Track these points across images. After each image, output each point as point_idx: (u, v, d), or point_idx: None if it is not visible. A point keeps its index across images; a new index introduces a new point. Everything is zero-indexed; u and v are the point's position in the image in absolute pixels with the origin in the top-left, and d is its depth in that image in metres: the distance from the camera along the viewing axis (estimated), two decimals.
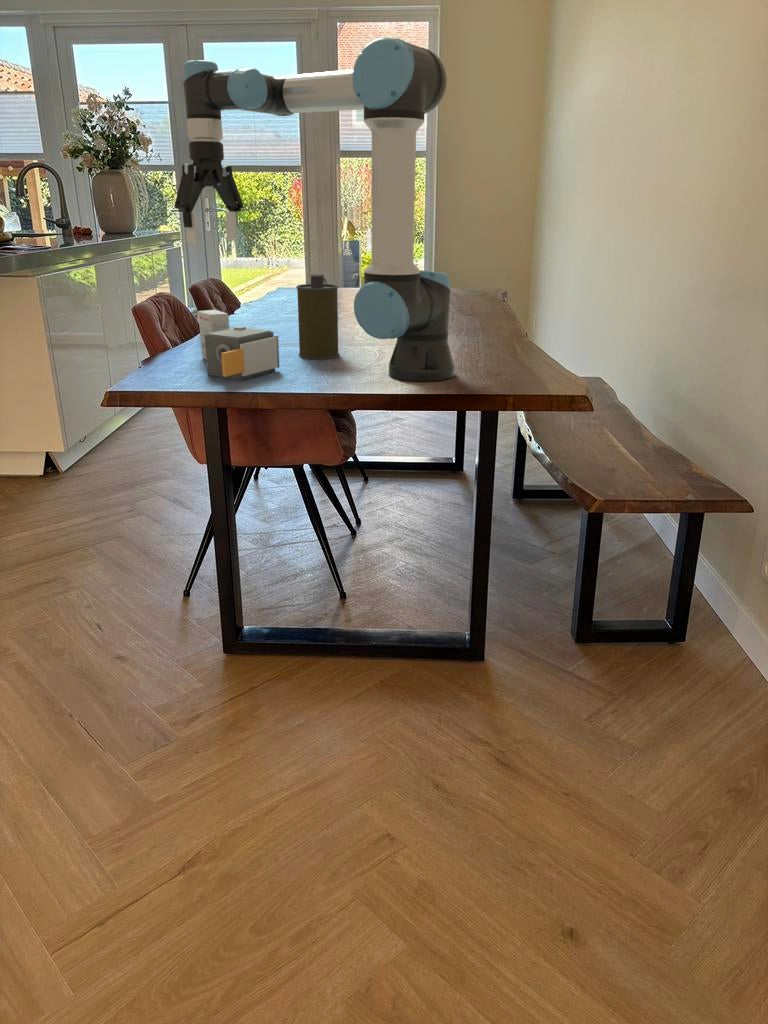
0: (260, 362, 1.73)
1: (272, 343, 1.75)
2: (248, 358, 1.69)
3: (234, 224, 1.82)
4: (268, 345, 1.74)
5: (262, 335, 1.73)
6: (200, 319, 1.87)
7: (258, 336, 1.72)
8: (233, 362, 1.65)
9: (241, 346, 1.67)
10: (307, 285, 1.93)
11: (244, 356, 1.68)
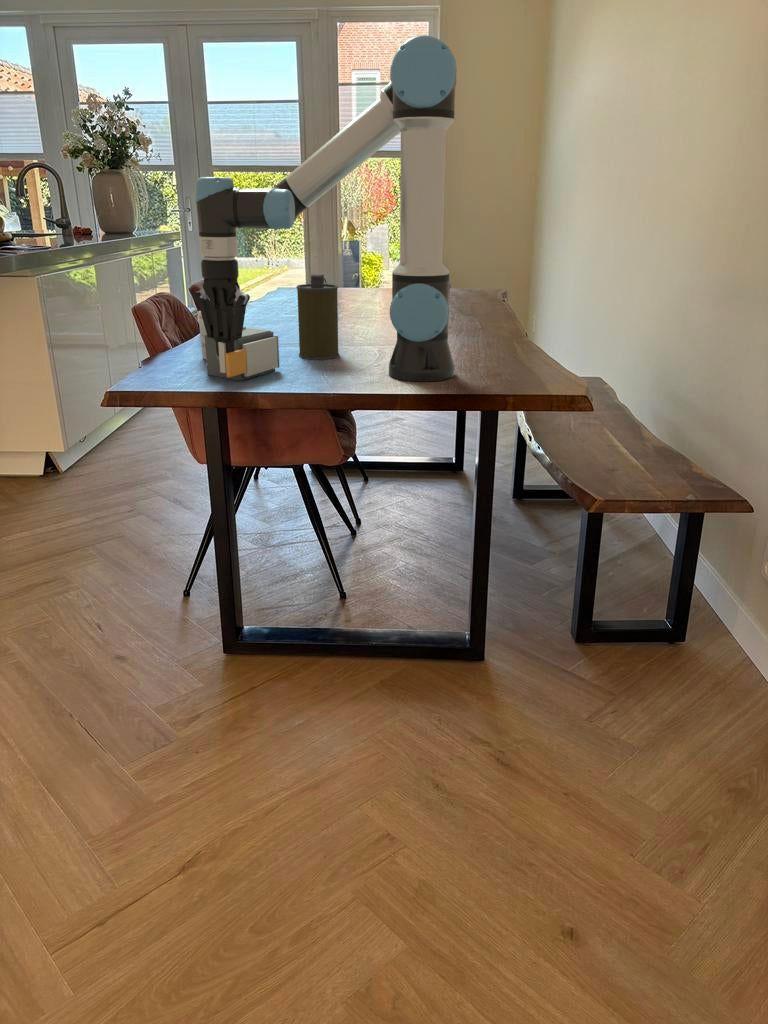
0: (261, 362, 1.72)
1: (272, 343, 1.75)
2: (251, 359, 1.69)
3: None
4: (268, 345, 1.74)
5: (262, 335, 1.73)
6: (200, 319, 1.87)
7: (258, 336, 1.72)
8: (237, 362, 1.65)
9: (244, 346, 1.66)
10: (307, 285, 1.93)
11: (247, 357, 1.68)
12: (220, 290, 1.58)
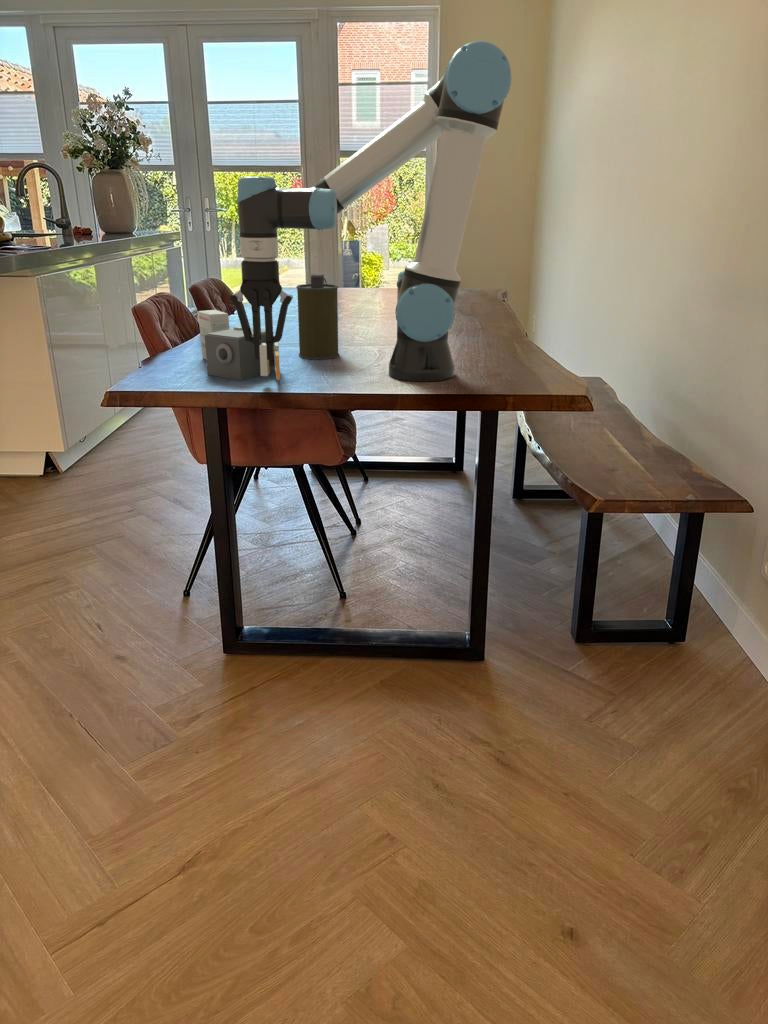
0: None
1: None
2: None
3: None
4: None
5: (262, 335, 1.73)
6: (200, 319, 1.87)
7: None
8: None
9: (276, 348, 1.65)
10: (307, 285, 1.93)
11: None
12: (265, 292, 1.55)
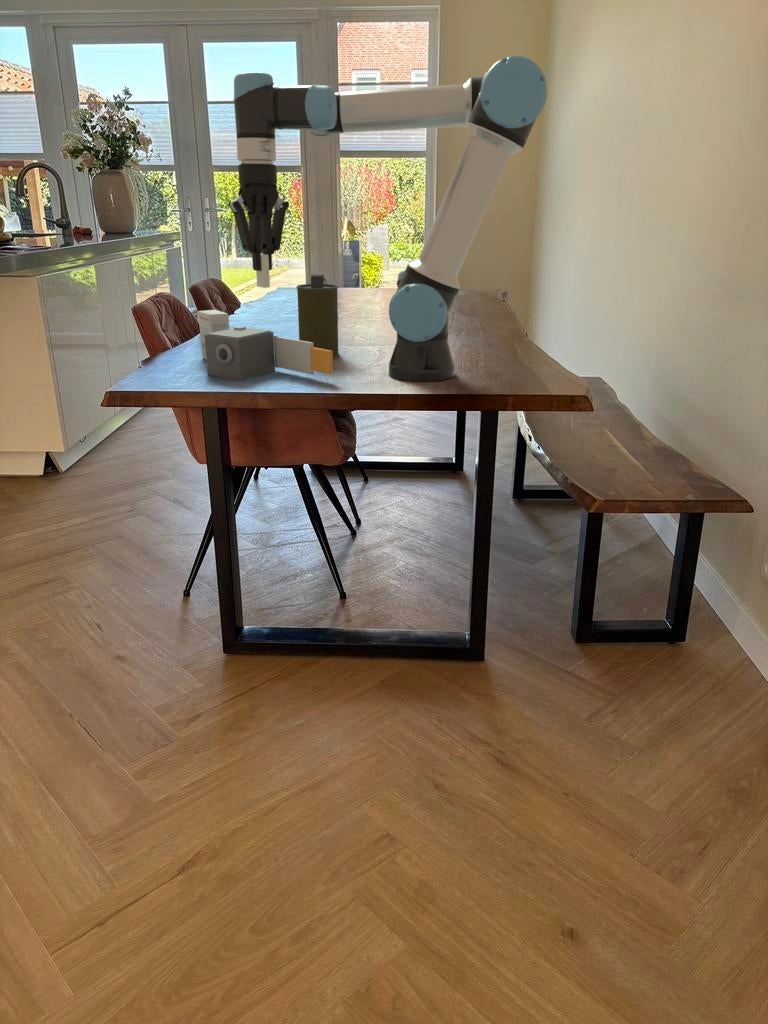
0: None
1: None
2: None
3: None
4: None
5: (262, 335, 1.73)
6: (200, 319, 1.87)
7: (258, 336, 1.72)
8: None
9: (312, 345, 1.69)
10: (307, 285, 1.93)
11: None
12: (269, 196, 1.52)
